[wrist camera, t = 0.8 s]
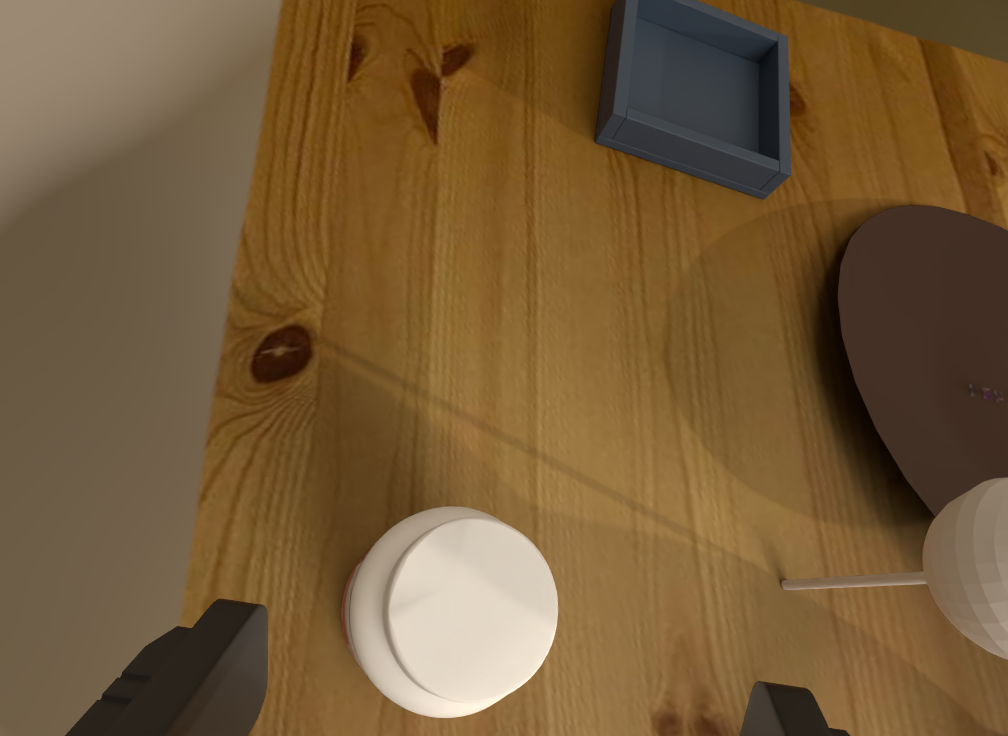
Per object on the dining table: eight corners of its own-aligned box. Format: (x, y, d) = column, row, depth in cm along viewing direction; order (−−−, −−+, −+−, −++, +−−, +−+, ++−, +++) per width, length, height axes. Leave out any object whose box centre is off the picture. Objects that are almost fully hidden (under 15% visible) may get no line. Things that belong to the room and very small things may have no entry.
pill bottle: (488, 534, 29) (584, 494, 19) (485, 688, 27) (591, 733, 17) (346, 528, 27) (368, 481, 17) (330, 690, 25) (346, 742, 15)
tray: (594, 142, 39) (612, 112, 36) (611, 7, 43) (629, -28, 41) (763, 200, 41) (791, 175, 39) (763, 66, 45) (788, 36, 43)
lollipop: (728, 516, 33) (1026, 449, 19) (827, 527, 34) (1170, 472, 20) (738, 649, 30) (1082, 681, 17) (843, 656, 32) (1240, 689, 18)
